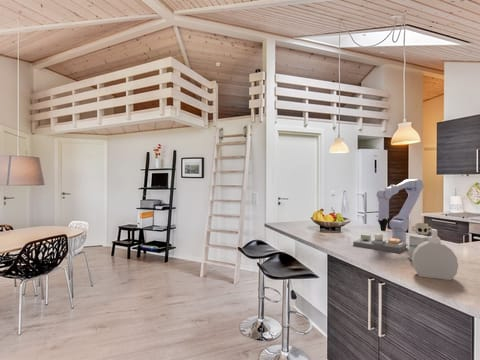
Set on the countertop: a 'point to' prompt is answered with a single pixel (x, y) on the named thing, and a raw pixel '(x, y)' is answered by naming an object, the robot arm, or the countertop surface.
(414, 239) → the supplement box
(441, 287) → the countertop surface
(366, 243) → the switch panel
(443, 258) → the soap bottle
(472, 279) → the countertop surface
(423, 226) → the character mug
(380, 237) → the off-white button
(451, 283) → the countertop surface
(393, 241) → the brown rectangular block
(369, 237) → the pale green block
